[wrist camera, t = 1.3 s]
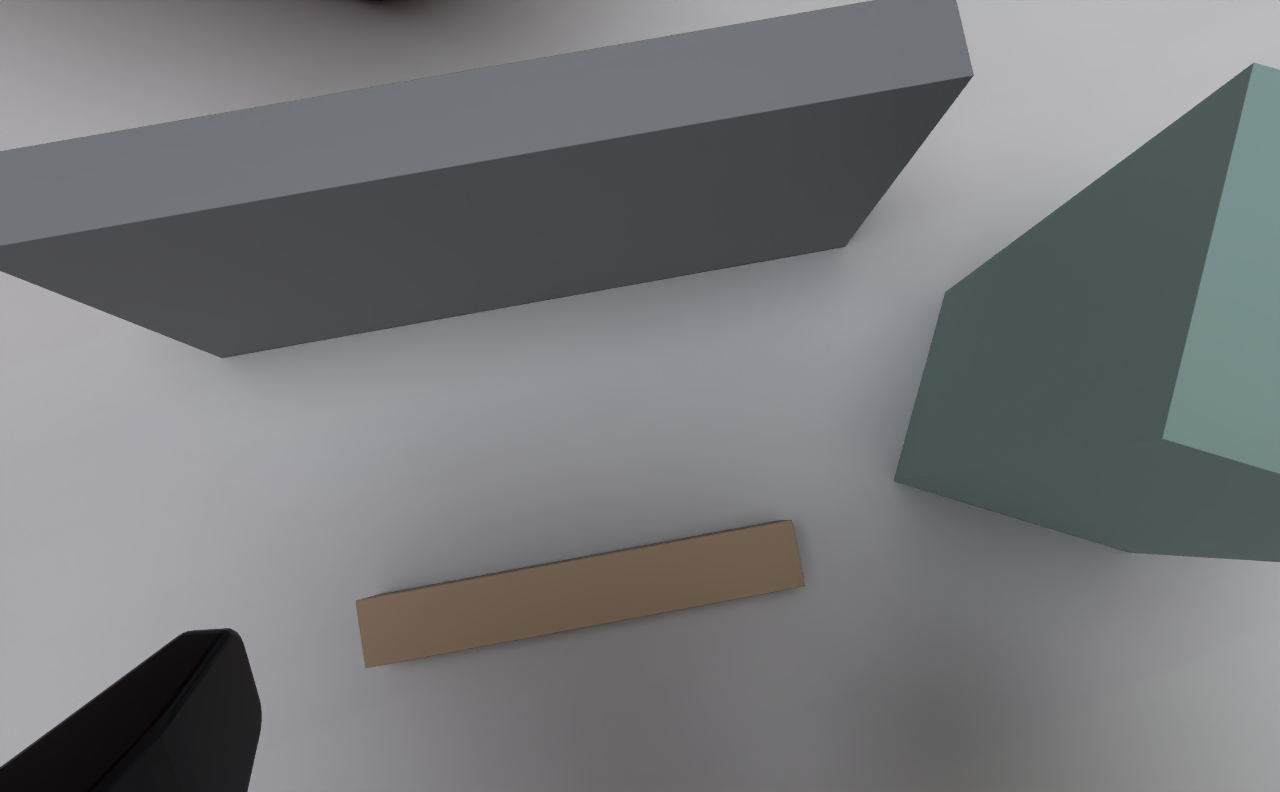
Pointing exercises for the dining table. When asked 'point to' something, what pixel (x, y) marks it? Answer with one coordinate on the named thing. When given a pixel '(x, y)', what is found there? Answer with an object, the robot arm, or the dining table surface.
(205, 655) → the robot arm
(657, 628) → the dining table surface
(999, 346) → the cabinet box
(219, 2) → the dining table surface
